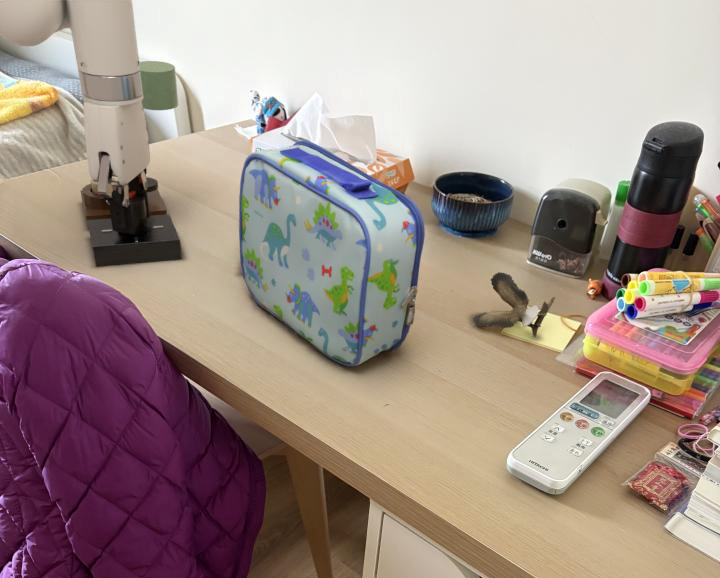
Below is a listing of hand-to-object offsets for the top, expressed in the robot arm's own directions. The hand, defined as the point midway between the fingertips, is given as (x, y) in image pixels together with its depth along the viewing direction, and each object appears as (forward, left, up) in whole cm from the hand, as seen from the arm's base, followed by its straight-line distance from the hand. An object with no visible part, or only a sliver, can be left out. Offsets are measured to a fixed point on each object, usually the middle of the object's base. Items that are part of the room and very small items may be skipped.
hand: (131, 223), depth 103 cm
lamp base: (0, +13, -4) cm, 14 cm away
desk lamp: (+6, +13, 0) cm, 14 cm away
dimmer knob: (0, 0, -1) cm, 1 cm away
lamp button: (-2, +13, 0) cm, 13 cm away
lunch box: (+20, -27, -4) cm, 34 cm away
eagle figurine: (+45, -33, -4) cm, 56 cm away
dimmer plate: (0, 0, -4) cm, 4 cm away
